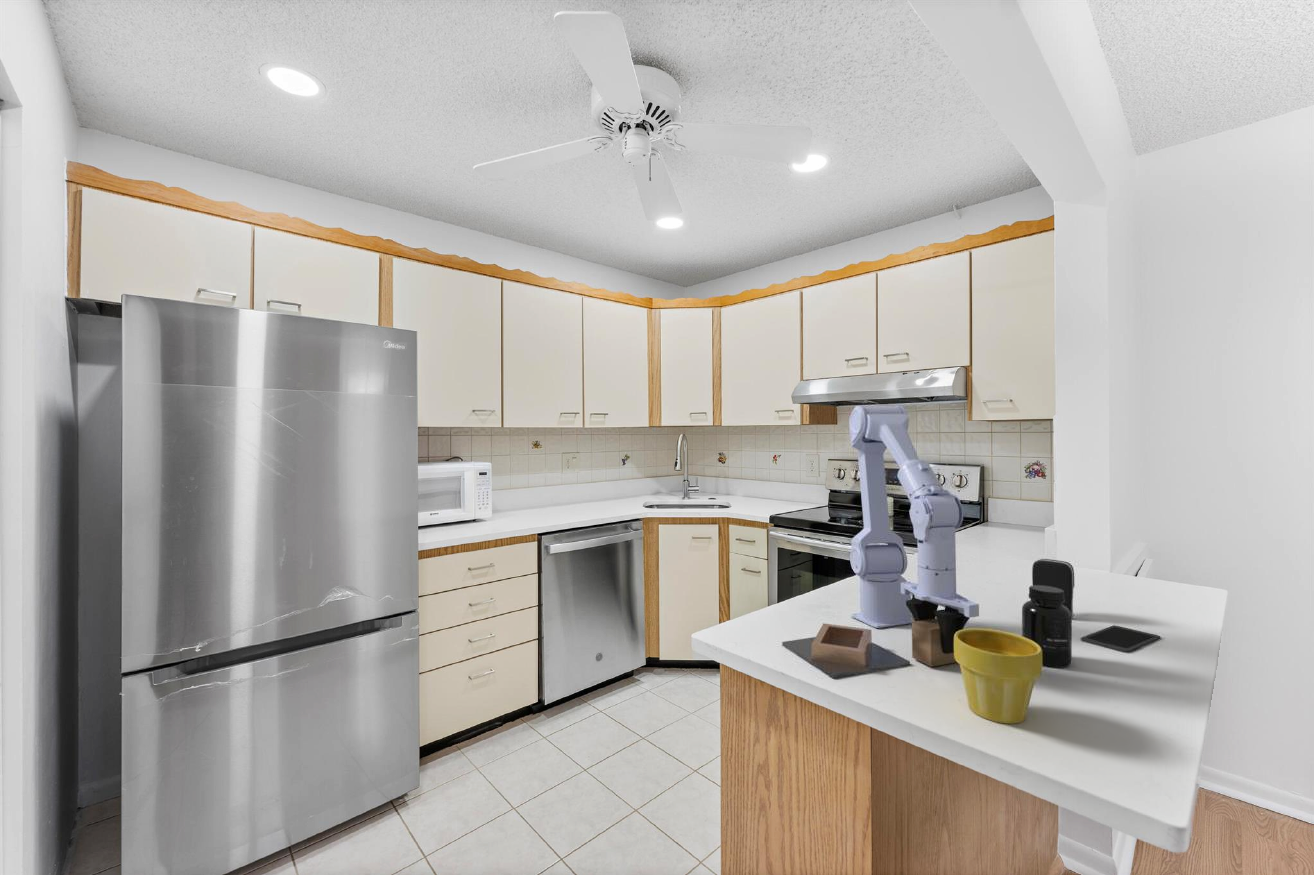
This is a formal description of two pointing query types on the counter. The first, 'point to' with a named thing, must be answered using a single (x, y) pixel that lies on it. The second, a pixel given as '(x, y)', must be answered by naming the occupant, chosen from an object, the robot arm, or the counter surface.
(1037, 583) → the battery charger
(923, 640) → the block
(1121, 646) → the cell phone
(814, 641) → the duct collar
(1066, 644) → the supplement bottle
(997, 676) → the plant pot
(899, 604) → the robot arm
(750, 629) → the counter surface
